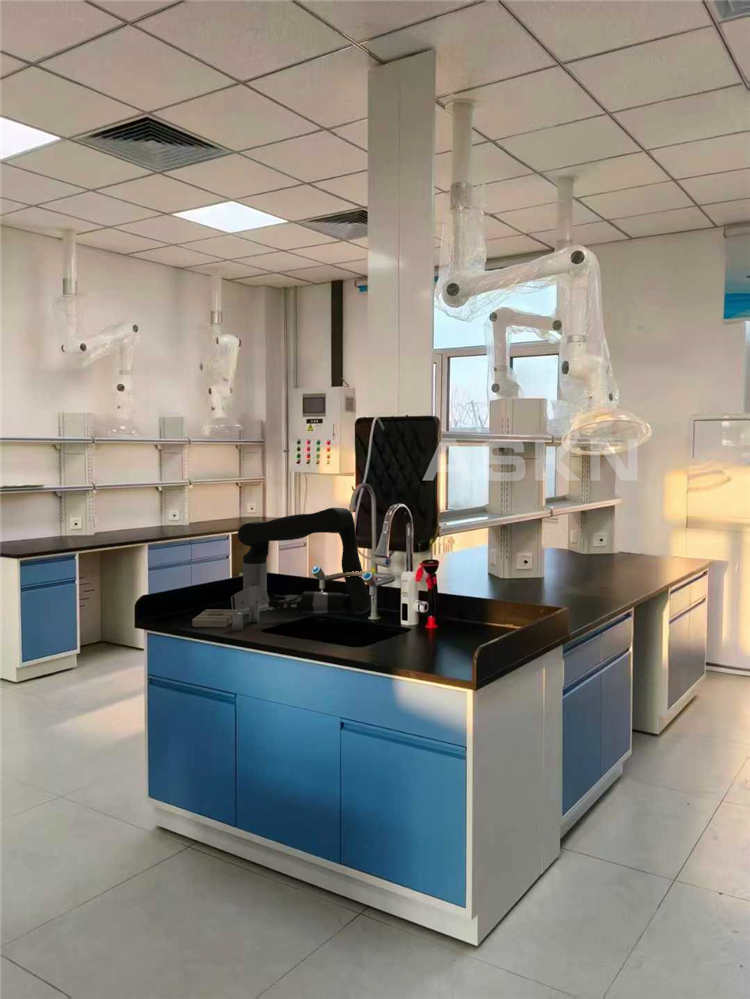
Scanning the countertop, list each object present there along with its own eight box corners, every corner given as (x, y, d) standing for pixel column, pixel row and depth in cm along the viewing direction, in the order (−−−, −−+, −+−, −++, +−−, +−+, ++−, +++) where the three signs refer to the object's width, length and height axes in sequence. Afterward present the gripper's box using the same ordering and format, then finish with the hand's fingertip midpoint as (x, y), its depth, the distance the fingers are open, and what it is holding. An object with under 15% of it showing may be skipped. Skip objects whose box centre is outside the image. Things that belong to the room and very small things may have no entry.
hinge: (240, 616, 293) (234, 590, 294) (232, 618, 296) (227, 592, 298) (274, 609, 305) (269, 584, 307) (267, 612, 308) (261, 587, 310)
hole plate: (206, 615, 293) (206, 609, 293) (238, 616, 292) (238, 609, 292) (192, 626, 275) (192, 619, 275) (226, 627, 275) (226, 620, 274)
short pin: (233, 628, 272) (233, 611, 272) (244, 628, 272) (243, 611, 272) (231, 631, 269) (231, 613, 268) (241, 631, 268) (241, 613, 268)
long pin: (250, 620, 285) (250, 585, 284) (260, 620, 285) (259, 585, 284) (248, 622, 281) (247, 586, 281) (258, 623, 281) (257, 587, 280)
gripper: (318, 588, 288) (274, 587, 289) (313, 595, 274) (266, 594, 275) (318, 608, 289) (274, 607, 290) (313, 616, 275) (267, 616, 275)
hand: (270, 601), depth 282 cm, fingers open, 8 cm apart
